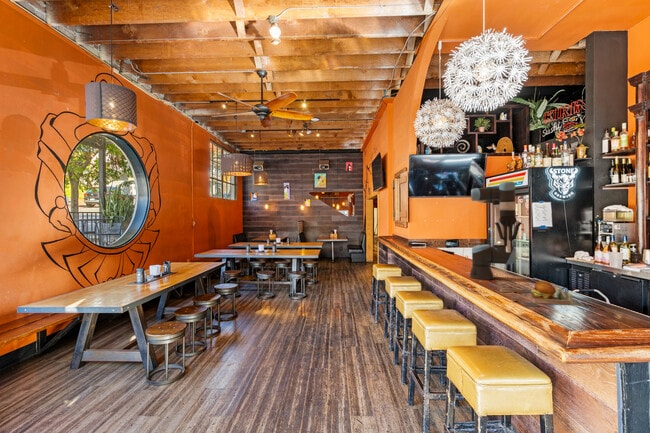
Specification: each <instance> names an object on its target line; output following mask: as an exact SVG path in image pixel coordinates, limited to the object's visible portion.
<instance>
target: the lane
mask: <svg viewBox="0 0 650 433" xmlns="http://www.w3.org/2000/svg"><path fill="white" fill-rule="evenodd" d="M551 285H552V286H553V287H554V288H555V290H556V292H555V293H554V295H555V296H554V297H556V298H558V299H554V298H553V299H538V298H533V299H532V300H533V303H536V304H547V305H549V304H551V305H565V306H566V305H568V306H573V294H572V293H570V292H567V291H565V290H563V289H561V288H559V287H557V286H556V285H554V284H551ZM522 290H523V289H522V288H504V287H502V288H500V293H510V292H517V294H523V293H524V292H522ZM512 301H518V302H517V303H519V302H520V298H519V297H511V302H512Z"/></svg>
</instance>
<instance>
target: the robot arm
mask: <svg viewBox="0 0 650 433" xmlns="http://www.w3.org/2000/svg"><path fill="white" fill-rule="evenodd" d="M470 196H471V198H470V200H471V201H472V202H473V201H474V202H478V203H483V204H492V206H493V207H494V209H495V210H494V211H495V222H494V225H495V242H494V243H493V246H491V244H478V245H474V246H472V248H471V257H472V258H471V265H472V266H471V270H470V272H469V278H471V279H475V280H483V281H485V280H486V281H487V280H494V279H495V278H494V273H493V270H492V267H491V264H494V265H495V264H496V265H499V264H500V265H513V264H514V263H515V259H516V251H517V249H516V247H515V246H514V245H513V241H514V240H517V236H518V233H519V229H520V226H521V224H522V222H521V221H519V220H517V218H516V216H517V215H516V212H517V211H516V210H515V209H516V183H515V182H514V181H505V182H504V181H503V182H500V183H499V186H486V187H479V188H478V187H476V188H471V190H470ZM514 225H515V226H514ZM513 227H514V229H513Z"/></svg>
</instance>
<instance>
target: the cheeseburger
mask: <svg viewBox="0 0 650 433" xmlns="http://www.w3.org/2000/svg"><path fill="white" fill-rule="evenodd" d="M552 285H553V284H551V283H550V282H548V281H546V280H541V281H538V282H536V283H534V287H533V288H532V289H530V290H531V292H533V293H531V294H532V297H534V299H553V300H554V298H555V297H556V296H555V295H554V293H555V292H556V290H555V288H554V287H553V286H552Z"/></svg>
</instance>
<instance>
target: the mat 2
mask: <svg viewBox="0 0 650 433" xmlns="http://www.w3.org/2000/svg"><path fill="white" fill-rule="evenodd" d="M522 302H523V303H524V304H525V305H526V306H525V307H534V308H535V307H536V308H539V307H540V305H538V303H534V302H524V301H522Z"/></svg>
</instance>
